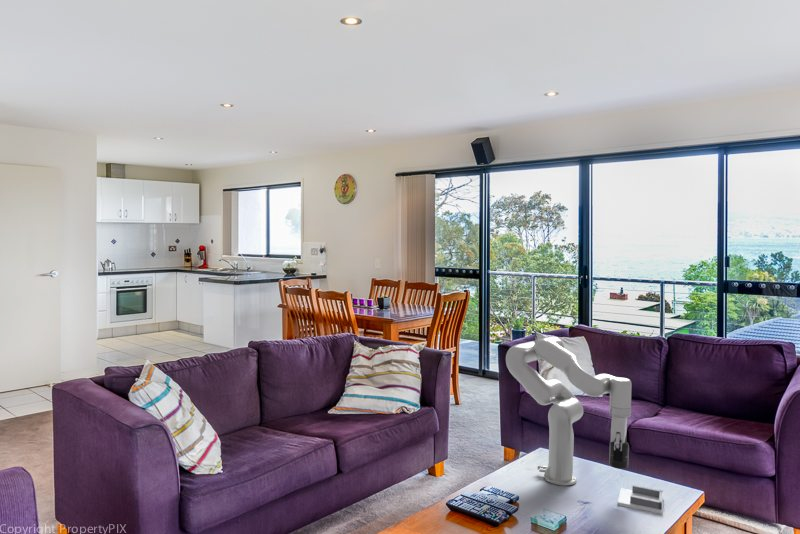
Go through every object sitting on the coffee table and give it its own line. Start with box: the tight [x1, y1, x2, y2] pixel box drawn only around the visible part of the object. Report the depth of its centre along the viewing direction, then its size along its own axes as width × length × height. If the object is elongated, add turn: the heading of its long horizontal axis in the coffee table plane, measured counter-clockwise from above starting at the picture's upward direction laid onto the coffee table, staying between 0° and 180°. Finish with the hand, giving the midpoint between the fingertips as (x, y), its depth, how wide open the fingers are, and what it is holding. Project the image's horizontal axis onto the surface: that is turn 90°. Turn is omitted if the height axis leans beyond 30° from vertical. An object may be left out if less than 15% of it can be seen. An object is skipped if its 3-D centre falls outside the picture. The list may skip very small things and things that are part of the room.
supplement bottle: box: [608, 435, 630, 470], centre depth 218 cm, size 7×7×12 cm
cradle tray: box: [617, 484, 664, 515], centre depth 215 cm, size 15×14×4 cm
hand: (618, 457), depth 218 cm, fingers closed on supplement bottle, 6 cm apart
